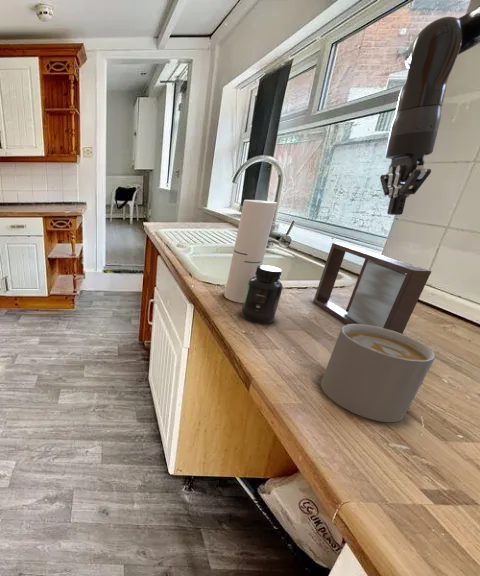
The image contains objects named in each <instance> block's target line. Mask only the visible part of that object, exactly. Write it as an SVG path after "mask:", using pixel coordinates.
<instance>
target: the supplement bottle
mask: <svg viewBox="0 0 480 576" xmlns="http://www.w3.org/2000/svg"><path fill="white" fill-rule="evenodd" d="M282 272H283V270H282V269H281V268H280V267H276V266H273V265H265V264H262V265H260V266H257V270H256V273H255V275H256V276H255V277H252V278H251V279H250V280H249V282H248V286H247V290H246V294H245V298H244V303H242V308H241V316H242V317H243V318H245V319H246V320H247V321H250V322H253V323H255V324H264V325H265V324H270V323H272V322H273V321H274V319H275V317H276V313H277V309H278V307H279V303H280V299H281V296H282V292H283V288H284V285H283V283H282V282H281V281H280V280H281V277H282Z"/></svg>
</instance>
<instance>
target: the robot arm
mask: <svg viewBox="0 0 480 576" xmlns="http://www.w3.org/2000/svg"><path fill="white" fill-rule="evenodd" d="M478 45H480V3H479V4H478V5H476V6H475V7H474V8H473V9H472V10H470V11H469V12H467V13H466V14H464V15H462V16H460V17H456V16H444V17H440V18H438V19H435V20H433V21H432V22H430V23H429V24H427V25H426V26H425V27H424V28H422V29H421V30H420V31H419V32H418V34H417V35H416V37H415V38H414V39H413V41H412V42H411V44H410V45H409V47H408V48H407V50H406V52H405V55H404V64H405V66H406V68H407V69H408V71H407V74H406V75H407V76H406V80H405V82H404V85H403V86H402V88H401V90H400V93H399V96H398V101H397V105H396V109H395V114H394V117H393V120H392V123H391V127H390V132H389V136H388V140H387V144H386V145H387V146H386V150H385V155H384V157H385V158H386V159H387V160H391V162H390V164H389V166H388V171H387V172H386V173H385V174H381V175H380V176H379V177H380V178H379V180H380V183H381V188H382V191H383V194H384V196H387V197H388V198H389V204H388V208H387V213H386V214H387V215H388V216H389V215H390V216H401V215H402V214H403V213H404V209H405V206H406V200H407V198H409V197H410V196H411V195H416V194H417V192H418V191H419V189H420V188H421V186H423V184H424V183H425V181H426V180H427V178H428V177H429V176H430V175H431V173H432V169H431V168H425V167H424V165H425V157H426V156H430V155H431V154H433V152H434V147H435V144H436V140H437V137H438V132H439V127H440V124H441V120H442V110H443V105H444V101H445V97H446V93H447V87H448V81H449V78H450V75H451V73H452V70H453V68H454V66H455V63H456V61H457V59H458V56H459V55H461V54H463V53H464V52H466V51H469V50H470V49H472V48H474V47H476V46H478Z"/></svg>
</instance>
